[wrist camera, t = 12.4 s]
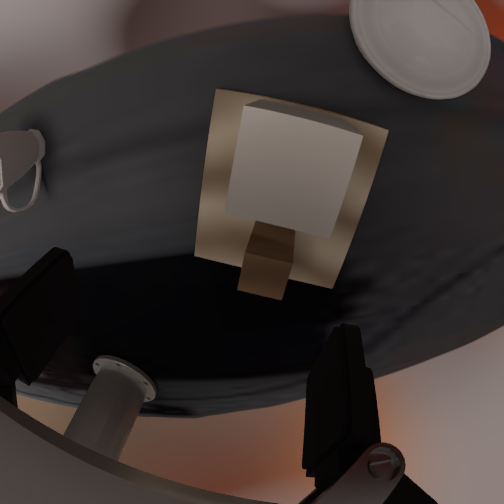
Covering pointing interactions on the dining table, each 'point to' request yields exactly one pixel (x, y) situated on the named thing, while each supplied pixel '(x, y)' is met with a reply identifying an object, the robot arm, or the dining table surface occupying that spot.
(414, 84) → the ramekin
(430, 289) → the dining table surface
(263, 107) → the matte grey cube
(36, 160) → the cup
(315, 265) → the post board
